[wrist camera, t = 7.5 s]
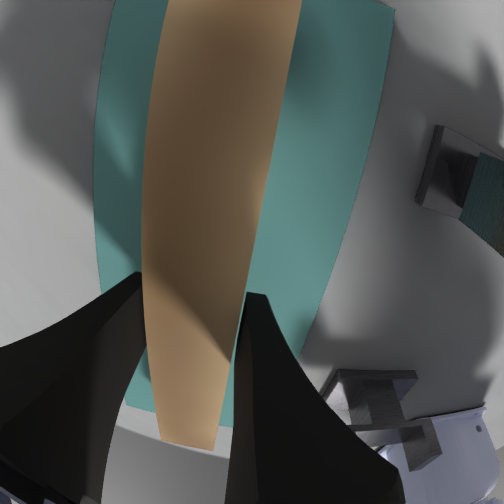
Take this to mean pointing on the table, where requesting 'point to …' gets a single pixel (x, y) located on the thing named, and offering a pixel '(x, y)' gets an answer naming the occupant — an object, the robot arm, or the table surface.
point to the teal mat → (281, 166)
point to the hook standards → (479, 221)
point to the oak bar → (206, 195)
